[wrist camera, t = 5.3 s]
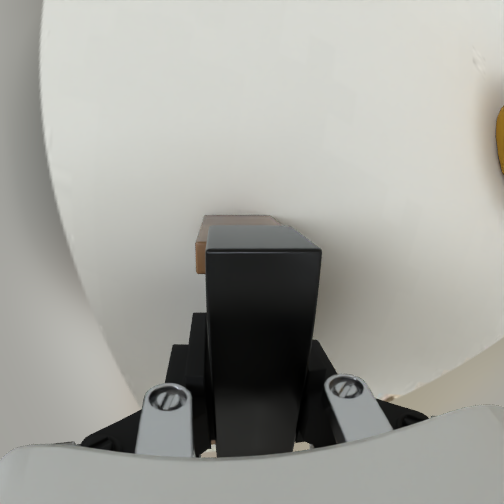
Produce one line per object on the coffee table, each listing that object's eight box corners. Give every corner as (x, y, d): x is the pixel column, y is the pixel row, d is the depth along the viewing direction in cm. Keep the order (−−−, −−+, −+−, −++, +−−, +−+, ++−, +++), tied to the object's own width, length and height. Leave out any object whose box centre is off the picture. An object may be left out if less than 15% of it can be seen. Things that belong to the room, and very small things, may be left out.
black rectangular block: (216, 381, 16) (221, 500, 8) (212, 205, 14) (204, 249, 6) (257, 379, 16) (282, 495, 9) (264, 205, 14) (323, 249, 6)
